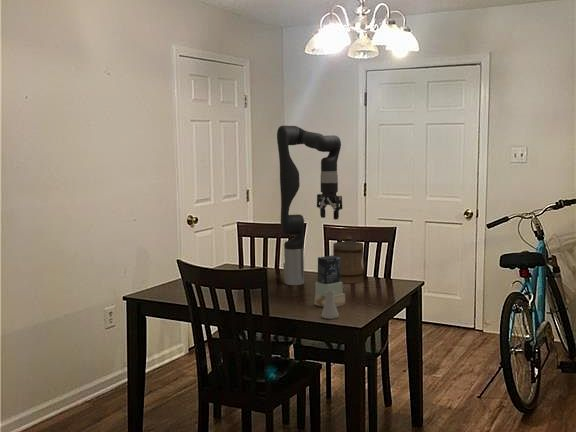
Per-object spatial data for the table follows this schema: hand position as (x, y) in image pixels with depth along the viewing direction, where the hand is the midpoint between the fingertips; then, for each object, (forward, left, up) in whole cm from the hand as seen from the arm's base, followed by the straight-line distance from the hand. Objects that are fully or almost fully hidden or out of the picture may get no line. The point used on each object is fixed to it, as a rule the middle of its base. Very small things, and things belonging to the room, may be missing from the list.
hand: (329, 218), depth 285 cm
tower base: (+13, -12, -34) cm, 39 cm away
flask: (+27, -24, -34) cm, 50 cm away
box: (+13, -12, -25) cm, 30 cm away
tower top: (+13, -12, -30) cm, 34 cm away
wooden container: (-16, +26, -34) cm, 46 cm away
